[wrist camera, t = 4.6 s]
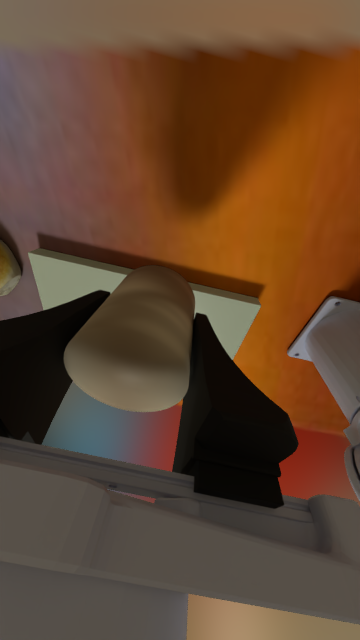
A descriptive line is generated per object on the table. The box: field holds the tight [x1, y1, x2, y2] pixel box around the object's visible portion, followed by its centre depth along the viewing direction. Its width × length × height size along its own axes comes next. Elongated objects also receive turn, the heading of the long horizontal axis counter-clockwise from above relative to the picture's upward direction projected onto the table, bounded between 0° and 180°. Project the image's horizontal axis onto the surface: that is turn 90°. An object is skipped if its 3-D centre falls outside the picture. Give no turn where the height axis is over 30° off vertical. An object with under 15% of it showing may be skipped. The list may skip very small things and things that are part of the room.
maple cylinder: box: [64, 265, 195, 412], centre depth 10 cm, size 5×5×6 cm
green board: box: [28, 248, 261, 360], centre depth 22 cm, size 22×13×2 cm, turn 79°
